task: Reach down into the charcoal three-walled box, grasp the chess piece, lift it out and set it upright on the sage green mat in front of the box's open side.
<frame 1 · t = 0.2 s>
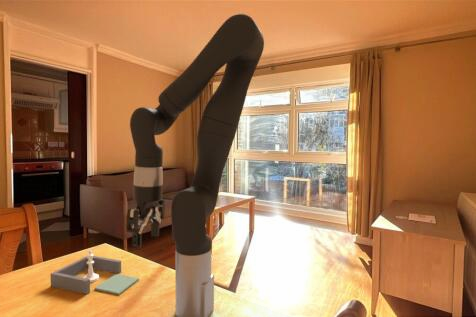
hand: (146, 241, 75), 17 cm above the table, tool pointing down, fingers open, 8 cm apart
mat: (117, 284, 85), on the table
chess piece: (90, 280, 88), on the table
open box: (89, 279, 89), on the table
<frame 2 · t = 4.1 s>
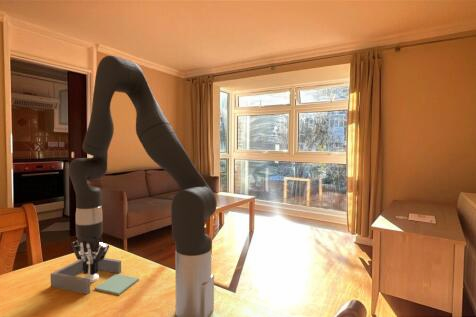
hand: (90, 272, 88), 2 cm above the table, tool pointing down, fingers closed on chess piece
chess piece: (90, 279, 88), on the table, touching gripper
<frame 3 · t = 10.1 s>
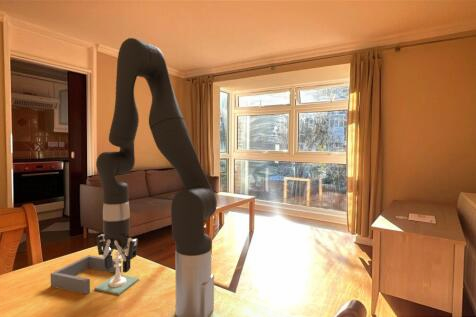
hand: (117, 269, 85), 5 cm above the table, tool pointing down, fingers open, 6 cm apart
chess piece: (117, 283, 85), resting on mat
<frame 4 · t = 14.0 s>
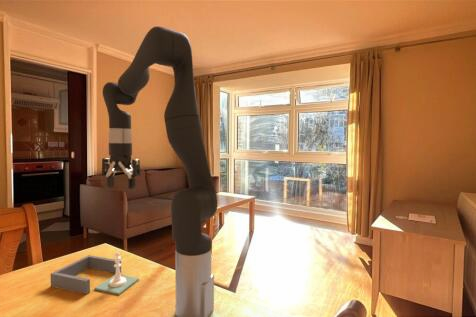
hand: (121, 188, 96), 28 cm above the table, tool pointing down, fingers open, 8 cm apart
nothing on the table moved.
at the end: chess piece inside the target area on the mat (0.1 cm from its centre), point 0.4 cm above the mat's base; chess piece tilted 0°; the gripper is holding nothing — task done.
